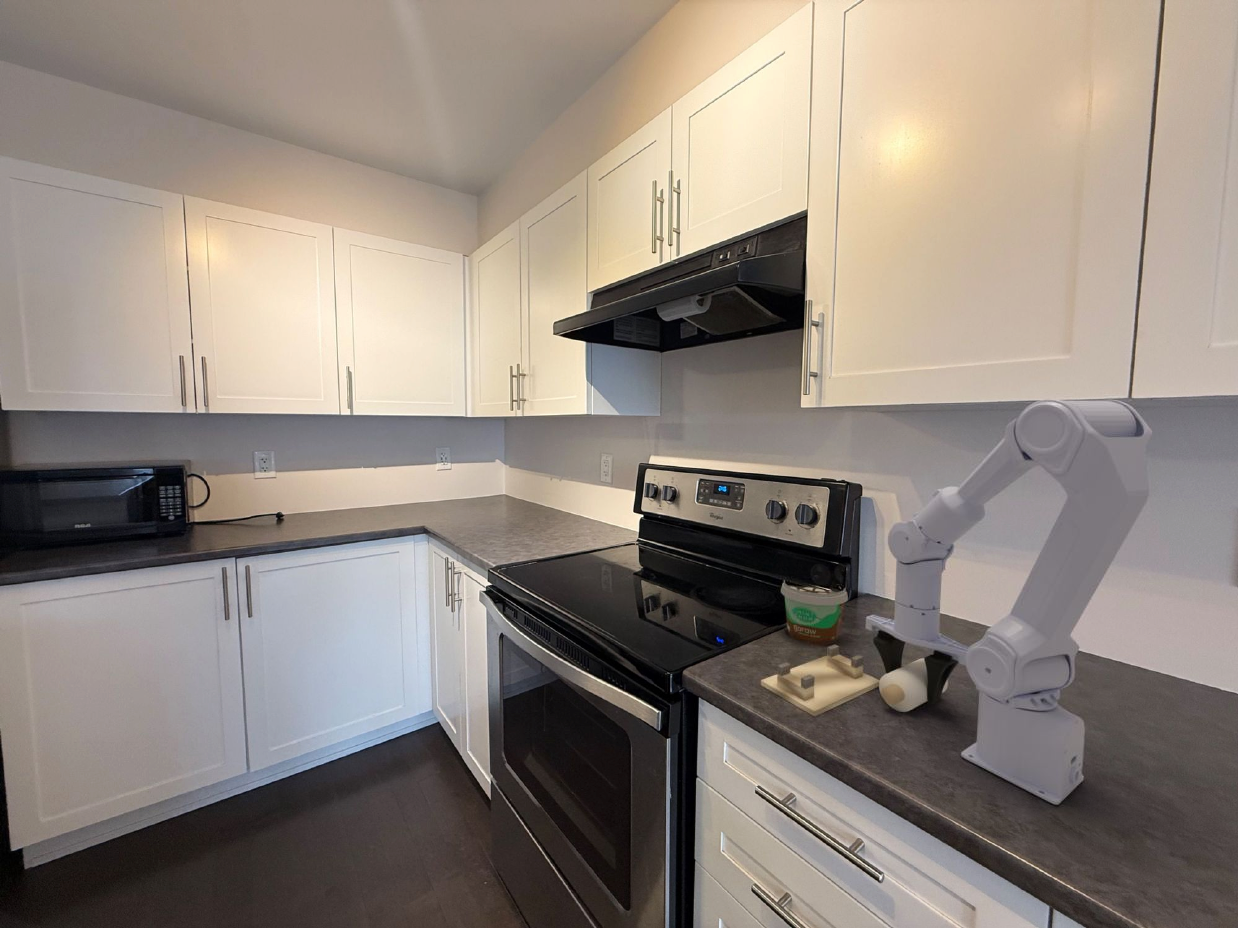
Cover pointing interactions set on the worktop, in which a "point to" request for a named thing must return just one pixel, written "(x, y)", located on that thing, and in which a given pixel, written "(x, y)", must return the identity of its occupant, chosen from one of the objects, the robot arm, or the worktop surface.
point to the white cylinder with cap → (906, 686)
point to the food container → (813, 613)
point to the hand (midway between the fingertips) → (913, 691)
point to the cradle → (821, 682)
